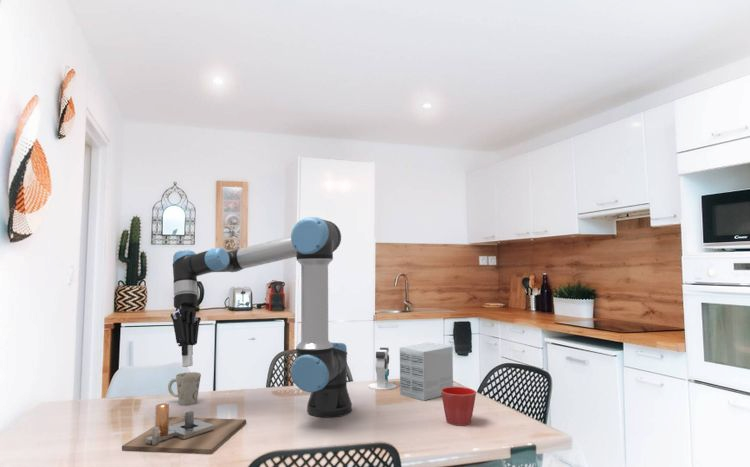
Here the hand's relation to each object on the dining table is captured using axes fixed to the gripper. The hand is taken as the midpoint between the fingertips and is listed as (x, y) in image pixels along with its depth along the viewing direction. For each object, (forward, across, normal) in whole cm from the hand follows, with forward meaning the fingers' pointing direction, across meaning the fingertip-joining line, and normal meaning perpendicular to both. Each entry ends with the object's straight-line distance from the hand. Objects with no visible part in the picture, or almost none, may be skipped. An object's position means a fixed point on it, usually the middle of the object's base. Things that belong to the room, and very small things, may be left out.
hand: (187, 366), depth 156 cm
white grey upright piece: (+14, -63, +46) cm, 79 cm away
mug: (+9, -21, -18) cm, 29 cm away
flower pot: (+31, -28, +78) cm, 88 cm away
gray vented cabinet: (+20, -58, +64) cm, 89 cm away
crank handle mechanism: (+20, +11, +4) cm, 23 cm away
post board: (+21, +7, +5) cm, 23 cm away
